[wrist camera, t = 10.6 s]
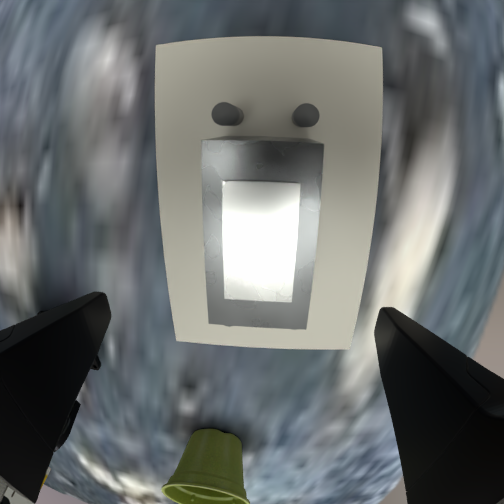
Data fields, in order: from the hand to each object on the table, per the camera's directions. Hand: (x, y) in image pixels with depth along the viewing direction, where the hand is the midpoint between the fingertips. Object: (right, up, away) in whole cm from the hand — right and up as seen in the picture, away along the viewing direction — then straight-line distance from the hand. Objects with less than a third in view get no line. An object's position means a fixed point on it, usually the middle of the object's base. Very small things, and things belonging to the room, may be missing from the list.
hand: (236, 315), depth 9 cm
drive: (+1, +5, +10) cm, 11 cm away
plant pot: (-4, -20, +22) cm, 30 cm away
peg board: (+1, +5, +11) cm, 12 cm away
